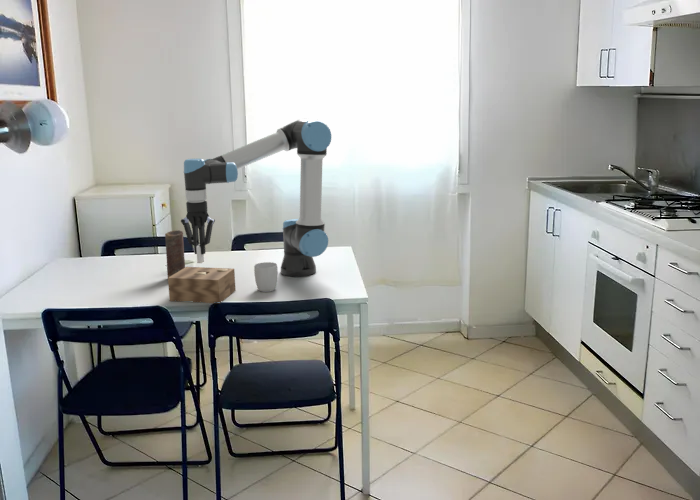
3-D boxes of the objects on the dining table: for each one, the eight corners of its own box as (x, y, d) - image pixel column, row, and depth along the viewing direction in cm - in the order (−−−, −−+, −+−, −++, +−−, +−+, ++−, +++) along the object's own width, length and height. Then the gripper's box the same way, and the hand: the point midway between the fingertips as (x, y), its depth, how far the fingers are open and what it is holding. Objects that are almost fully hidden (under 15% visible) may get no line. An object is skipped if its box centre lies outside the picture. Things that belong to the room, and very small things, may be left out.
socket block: (235, 290, 264) (234, 268, 262) (219, 303, 249) (218, 279, 247) (188, 288, 268) (186, 266, 266) (169, 300, 253) (167, 277, 251)
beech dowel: (209, 294, 260) (207, 272, 258) (205, 297, 256) (203, 274, 254) (199, 294, 261) (198, 271, 259) (195, 297, 257) (193, 274, 255)
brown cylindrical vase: (189, 277, 285) (186, 230, 280) (178, 281, 278) (174, 234, 273) (175, 275, 288) (171, 229, 283) (164, 279, 281) (159, 233, 277)
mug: (279, 292, 262) (278, 267, 259) (256, 293, 260) (254, 268, 258) (276, 283, 274) (275, 259, 271) (253, 284, 272) (252, 260, 270)
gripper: (216, 199, 252) (220, 260, 258) (184, 198, 255) (188, 259, 260) (208, 202, 245) (212, 265, 251) (175, 202, 248) (180, 264, 253)
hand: (200, 262), depth 256 cm, fingers closed
